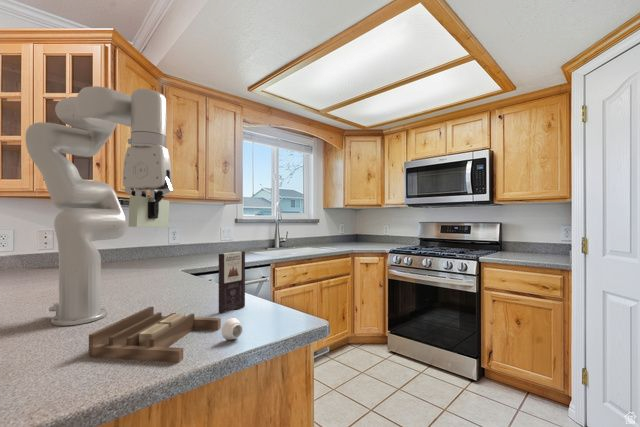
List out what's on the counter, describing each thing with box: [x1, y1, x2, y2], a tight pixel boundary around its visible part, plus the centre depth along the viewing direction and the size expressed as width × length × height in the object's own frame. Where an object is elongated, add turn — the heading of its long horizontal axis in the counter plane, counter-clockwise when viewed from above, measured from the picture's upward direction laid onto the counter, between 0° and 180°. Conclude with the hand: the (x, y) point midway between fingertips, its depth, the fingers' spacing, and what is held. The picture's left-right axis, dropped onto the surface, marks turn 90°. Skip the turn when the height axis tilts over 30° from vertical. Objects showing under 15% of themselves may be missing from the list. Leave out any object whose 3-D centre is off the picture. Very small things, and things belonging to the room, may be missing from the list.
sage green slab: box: [127, 195, 170, 228], centre depth 75 cm, size 2×7×12 cm
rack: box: [88, 306, 222, 363], centre depth 72 cm, size 20×20×5 cm
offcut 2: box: [159, 313, 186, 327], centre depth 76 cm, size 3×6×4 cm, turn 174°
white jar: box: [221, 317, 243, 341], centre depth 73 cm, size 5×3×5 cm, turn 142°
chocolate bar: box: [218, 250, 246, 314], centre depth 96 cm, size 9×1×18 cm, turn 140°
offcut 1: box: [139, 324, 169, 346], centre depth 69 cm, size 3×6×4 cm, turn 174°
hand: (148, 217), depth 74 cm, fingers closed
